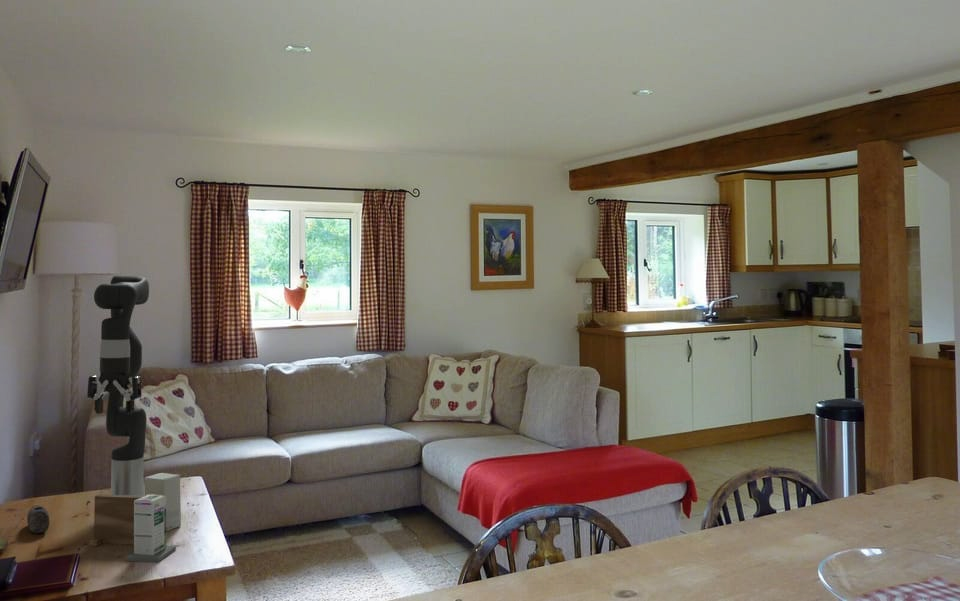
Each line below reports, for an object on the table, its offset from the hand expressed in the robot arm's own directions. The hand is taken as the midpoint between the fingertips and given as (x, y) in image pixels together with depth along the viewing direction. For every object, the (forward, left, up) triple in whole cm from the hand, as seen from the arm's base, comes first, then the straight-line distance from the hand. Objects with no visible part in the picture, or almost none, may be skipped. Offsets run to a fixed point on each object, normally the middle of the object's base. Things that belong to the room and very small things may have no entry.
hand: (114, 413), depth 197 cm
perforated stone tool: (-9, -28, -36) cm, 47 cm away
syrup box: (+8, +15, -35) cm, 39 cm away
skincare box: (-14, +7, -36) cm, 40 cm away
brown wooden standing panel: (0, +4, -36) cm, 36 cm away
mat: (+8, +16, -36) cm, 40 cm away
